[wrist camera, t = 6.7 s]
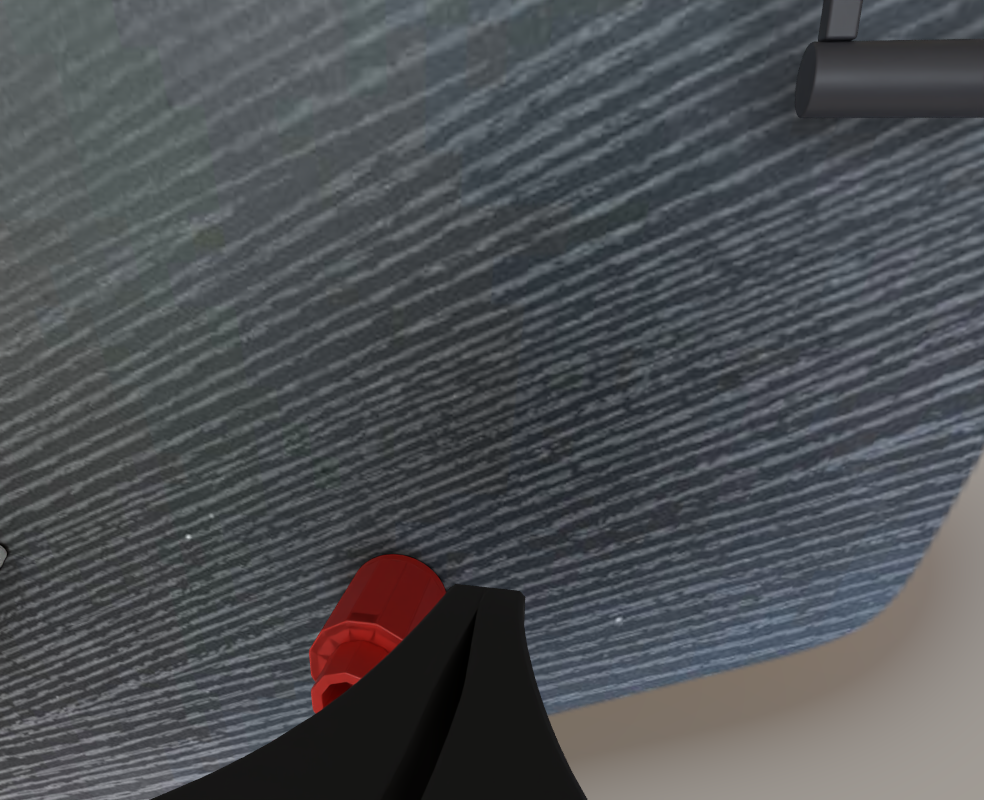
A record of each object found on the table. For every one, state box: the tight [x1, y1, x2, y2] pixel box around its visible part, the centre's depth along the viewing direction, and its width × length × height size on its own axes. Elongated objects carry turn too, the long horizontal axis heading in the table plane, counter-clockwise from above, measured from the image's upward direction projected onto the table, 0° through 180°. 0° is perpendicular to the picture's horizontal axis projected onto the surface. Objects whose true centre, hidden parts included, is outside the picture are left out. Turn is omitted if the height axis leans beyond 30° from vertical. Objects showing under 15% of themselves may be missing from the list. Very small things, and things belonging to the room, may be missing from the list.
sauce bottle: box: [309, 554, 446, 713], centre depth 23 cm, size 4×4×6 cm
